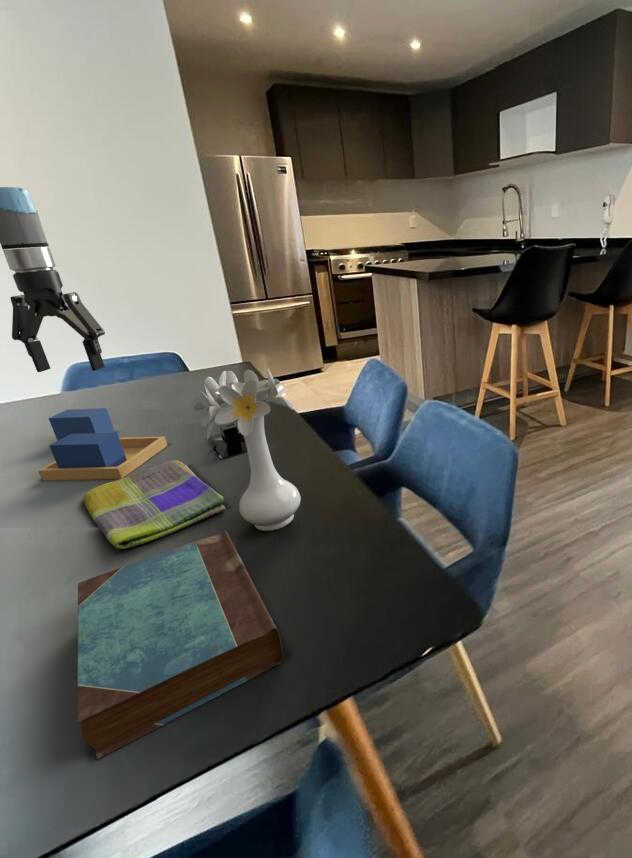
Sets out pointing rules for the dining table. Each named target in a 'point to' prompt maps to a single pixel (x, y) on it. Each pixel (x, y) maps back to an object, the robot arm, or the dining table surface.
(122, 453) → the pad
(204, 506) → the dish towel
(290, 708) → the dining table surface
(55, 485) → the dining table surface
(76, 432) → the pad
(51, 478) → the wooden tray
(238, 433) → the black box
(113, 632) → the book
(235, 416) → the flower vase
